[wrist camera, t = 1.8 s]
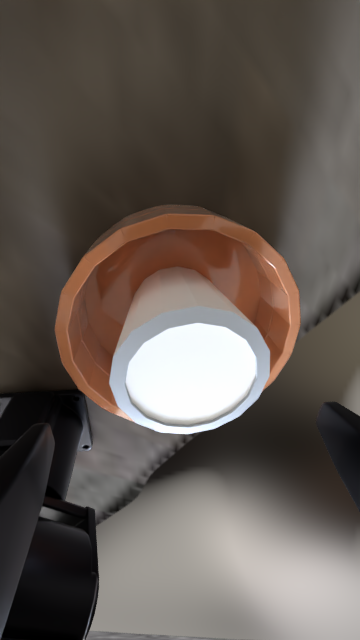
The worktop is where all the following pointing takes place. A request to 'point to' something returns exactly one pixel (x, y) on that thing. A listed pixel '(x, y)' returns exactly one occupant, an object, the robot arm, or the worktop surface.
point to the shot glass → (186, 356)
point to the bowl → (160, 253)
